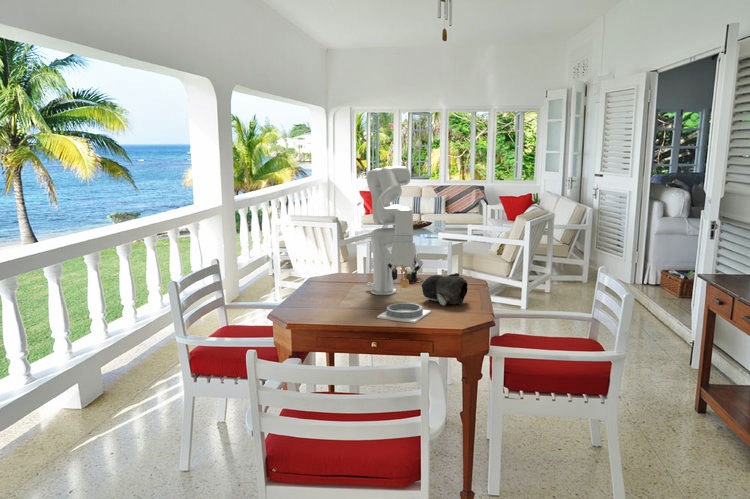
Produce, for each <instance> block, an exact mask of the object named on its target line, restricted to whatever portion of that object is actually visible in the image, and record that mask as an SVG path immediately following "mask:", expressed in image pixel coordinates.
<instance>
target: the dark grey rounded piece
mask: <svg viewBox="0 0 750 499" xmlns="http://www.w3.org/2000/svg"><path fill="white" fill-rule="evenodd" d="M421 288H422V294H423V297H425V299H428V300H431V301H433V302H439V304H440V305H441V306H443V307H444V306H446V305H447V304H449V305H457V304H458V305H461V306H462V305H463V302H464V300H465V297H466V296H467V294H468V281H467V280H466V279H465V278H464V277H461V276H460V273H458V272H455V273H452V274H449V275H447V276H443V275H438V274H437V275H436V274H434V275H430V276H429V277H427V278H426V279H425V280H424V281H422V283H421Z"/></svg>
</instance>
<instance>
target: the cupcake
mask: <svg viewBox="0 0 750 499" xmlns="http://www.w3.org/2000/svg"><path fill="white" fill-rule="evenodd" d="M406 269H407V276H406V279H407V280H408V281H409V283H411V282H412V281H411V273H412V270H411V268H410V267H406ZM403 275H404V276H403V279H405V275H406V273H405V272H403ZM417 275H418V272H417ZM401 280H402V278H400V279H399V282H400V281H401ZM423 280H424V278H421V277H418V276H417V279H416V281H414V282H419V283H421V282H424V281H423Z"/></svg>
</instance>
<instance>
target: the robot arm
mask: <svg viewBox="0 0 750 499" xmlns="http://www.w3.org/2000/svg"><path fill="white" fill-rule="evenodd" d="M410 182H411V172H410V170H409V168H408V167H407V166H404V165H398V166H397V165H395V166H394V165H391V166H390V165H387V166H384V167H380V168H379V167H378V168H373V169H370V170H368V171H367V174H366V183H367V187H368V189H369V192H370V194H371V206H372V207H371V210H372V220H373V222H374V224H375V225H377V226H393V225H394V227H378V228H376V229H373V230H372V231H371V234H370V242H371V247H372V264H373V265H372V266H373V267H372V268H373V271H372V272H373V282H367V283H366V286H367V287H368V288H371V289H370V293H371V294H373V295H377V296H387V295H389V296H390V295H394V294H396V293H397V288H395V287H394V281H396V280H397V279H398V269H397V268H398V267H396V266H399V267H401V264H403V266H404V267H406V268H408V267H410V268H411V270H412V273H411V281H412V282H414V281H416V279H417V277H418V274H417V273H418V271H419V270H420V269H421V267H422V266H423V265H424V262H423V261H422V260H420V258H418V256H417V249H416V243H415V241H414V212H413V210H412V209H411V208H410V207H409V206H403V205H401V204H391V203H393V202H395V201H396V200H398V199H400V197H401V196H402V193H403V190H402V186H406V185H407V186H408V184H410ZM388 248H391V252H390V250H388ZM416 265H417V266H416ZM395 267H396V270H395V271H394V269H395Z"/></svg>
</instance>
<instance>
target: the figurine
mask: <svg viewBox="0 0 750 499" xmlns="http://www.w3.org/2000/svg"><path fill="white" fill-rule="evenodd" d="M396 267H397V268H398V267H400V276H401V279H402V280H401V281H400V280H399V286H400V288H403V289H406V288H407V289H408V287H409V285H410V282H409V281H408V280H407V279H406V276H407V267H404V266H403V264H401V266H396ZM396 267H395V269H394V271H395V270H396V269H397V268H396ZM404 273H406V275H405V277H404V276H403V275H404ZM403 278H405V279H403Z"/></svg>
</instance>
